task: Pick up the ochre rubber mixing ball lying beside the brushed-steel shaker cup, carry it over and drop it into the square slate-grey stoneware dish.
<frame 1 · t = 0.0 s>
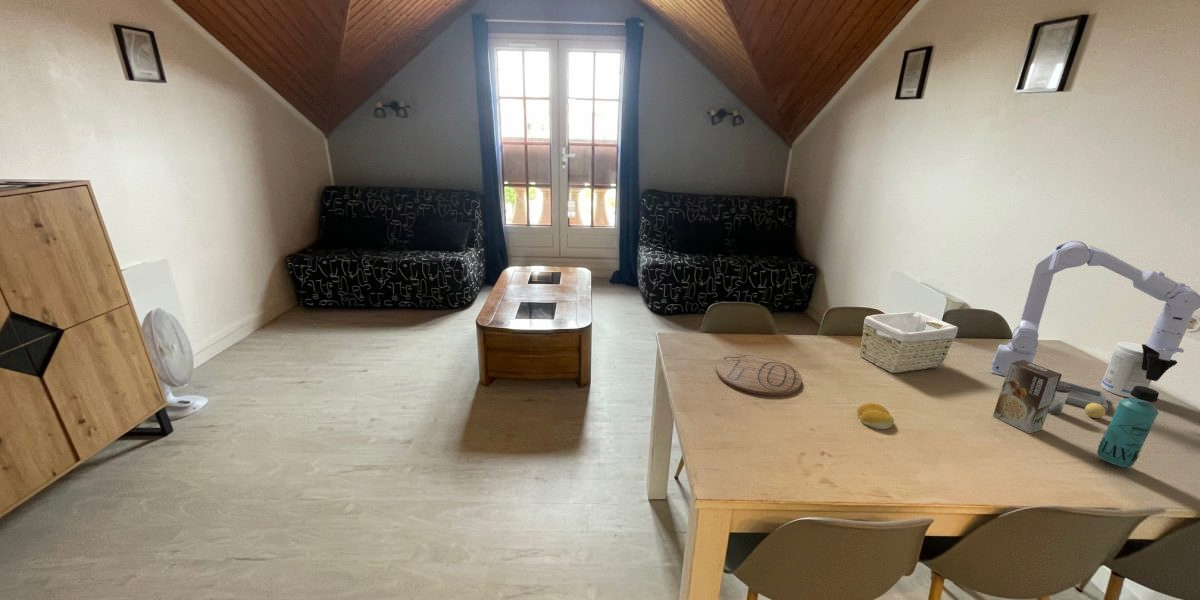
hand: (1148, 375, 140), 10 cm above the table, tool pointing down, fingers open, 7 cm apart
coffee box: (1016, 423, 133), on the table
supplement tub: (1120, 392, 152), on the table, touching gripper
storage basket: (900, 362, 166), on the table
dish: (1075, 398, 147), on the table
bread roll: (873, 421, 132), on the table
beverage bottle: (1112, 465, 117), on the table
shaker cup: (1049, 410, 140), on the table
trivet: (757, 377, 153), on the table
ball: (1095, 410, 137), point 2 cm above the table
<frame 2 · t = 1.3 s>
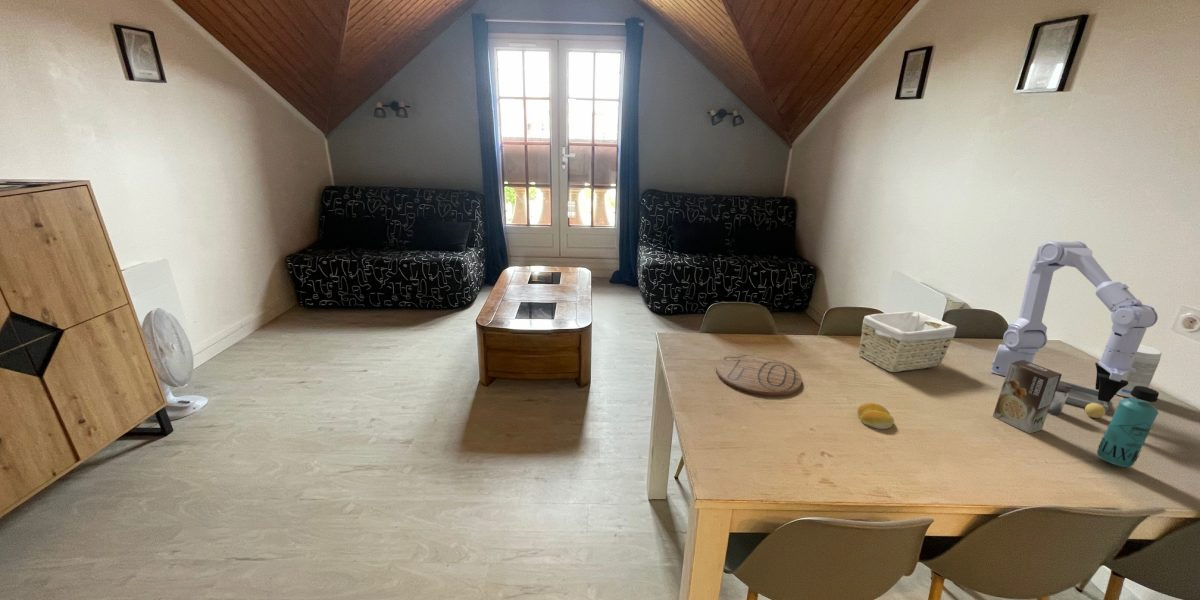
hand: (1101, 395, 135), 7 cm above the table, tool pointing down, fingers open, 7 cm apart
supplement tub: (1120, 392, 152), on the table
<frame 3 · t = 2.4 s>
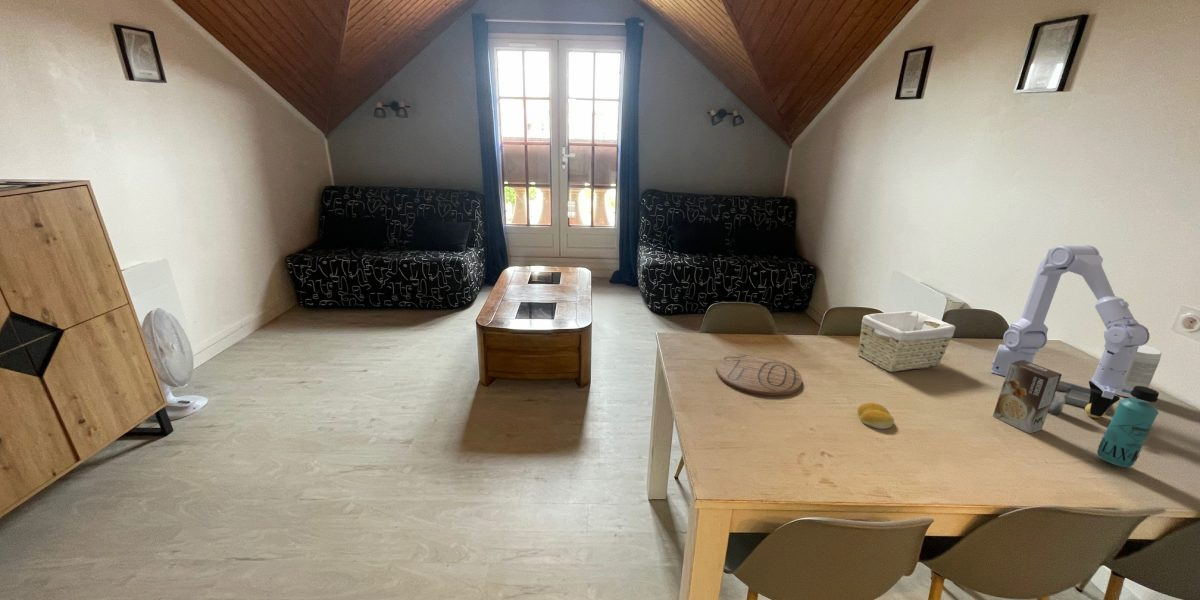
hand: (1094, 411, 137), 2 cm above the table, tool pointing down, fingers closed on ball, 4 cm apart
ball: (1095, 410, 137), point 2 cm above the table, touching gripper
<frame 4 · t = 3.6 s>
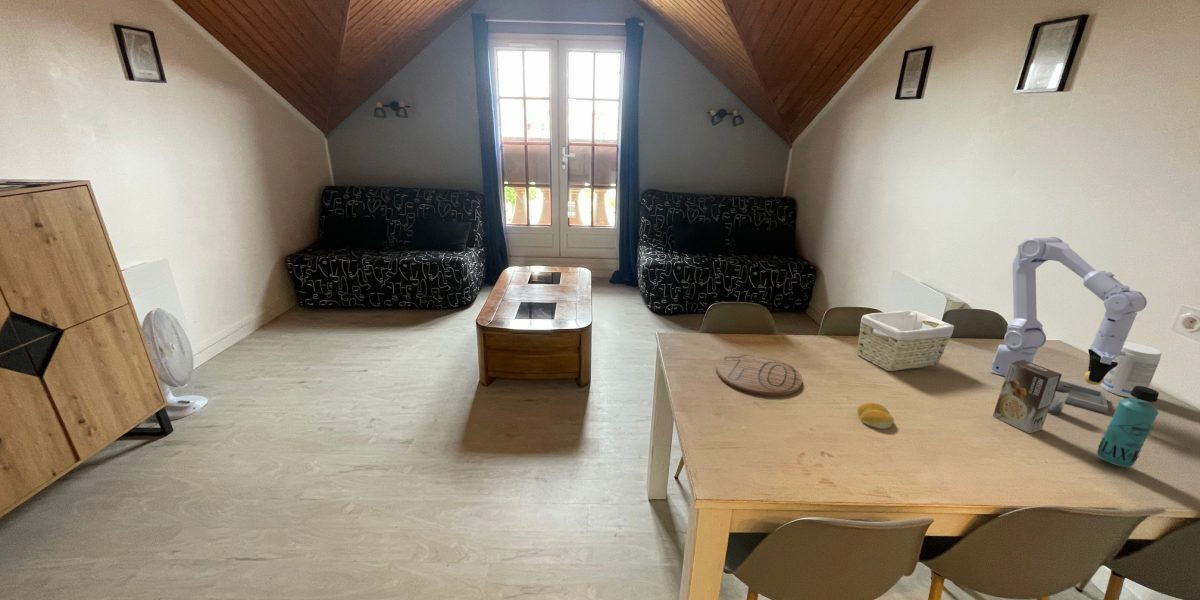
hand: (1093, 378, 140), 9 cm above the table, tool pointing down, fingers closed on ball, 4 cm apart
ball: (1094, 377, 140), point 9 cm above the table, touching gripper
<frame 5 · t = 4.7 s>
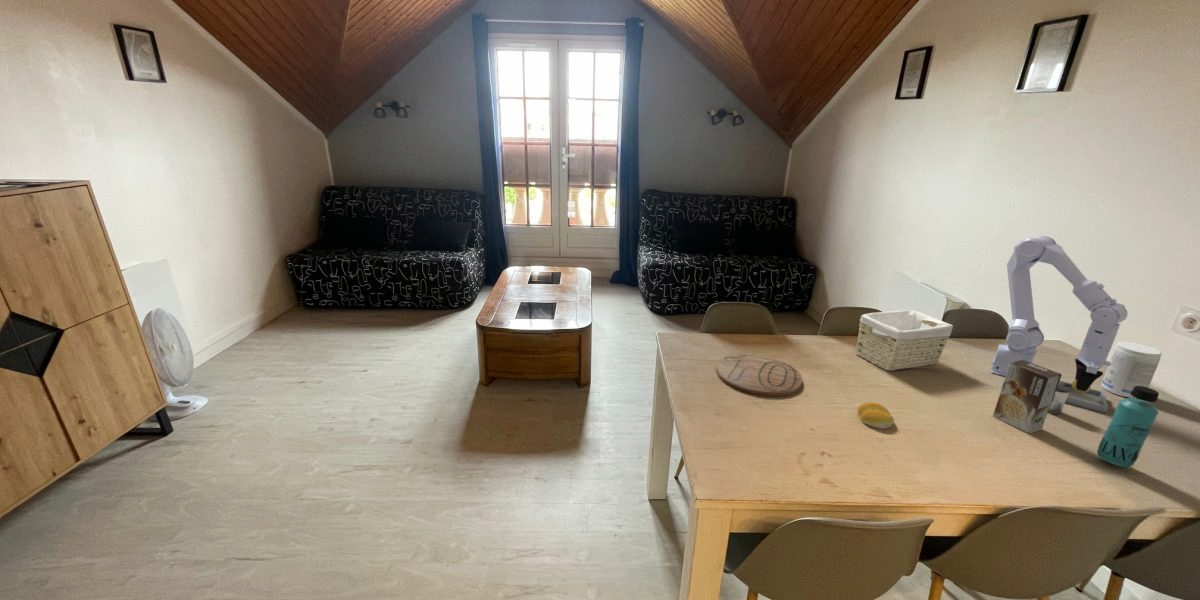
hand: (1080, 387, 146), 4 cm above the table, tool pointing down, fingers closed on ball, 4 cm apart
ball: (1081, 386, 146), point 4 cm above the table, touching gripper
when the fingers open (3 cm above the table, at t = 5.1 s): ball drops 1 cm, resting on dish.
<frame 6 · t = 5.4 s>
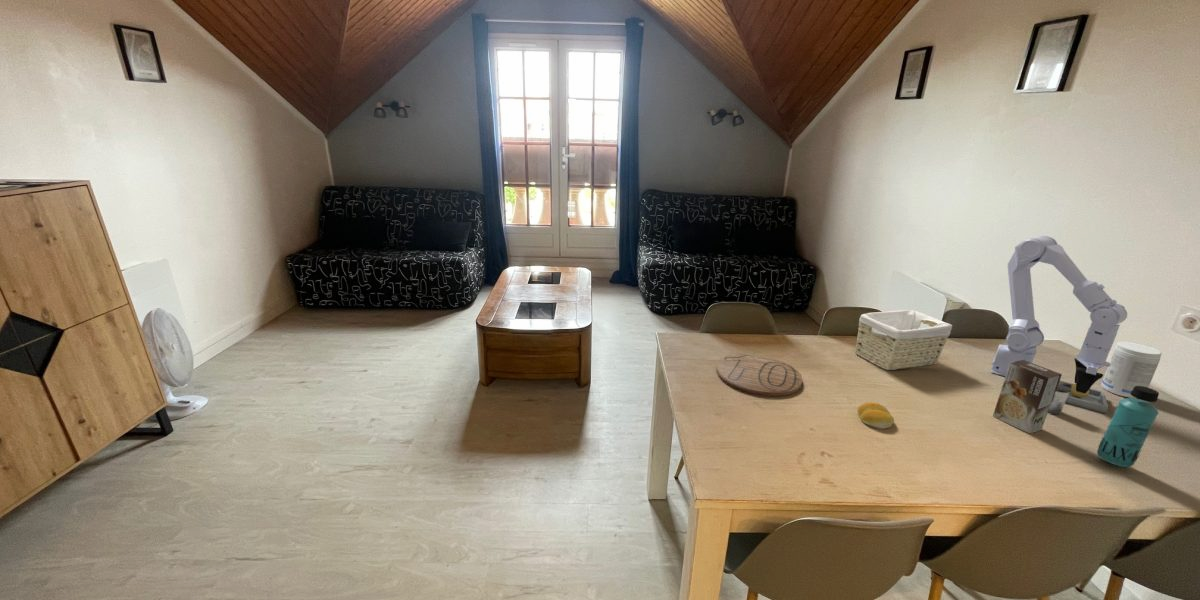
hand: (1079, 387, 146), 3 cm above the table, tool pointing down, fingers open, 6 cm apart
ball: (1079, 390, 146), point 3 cm above the table, tilted 6°, touching dish
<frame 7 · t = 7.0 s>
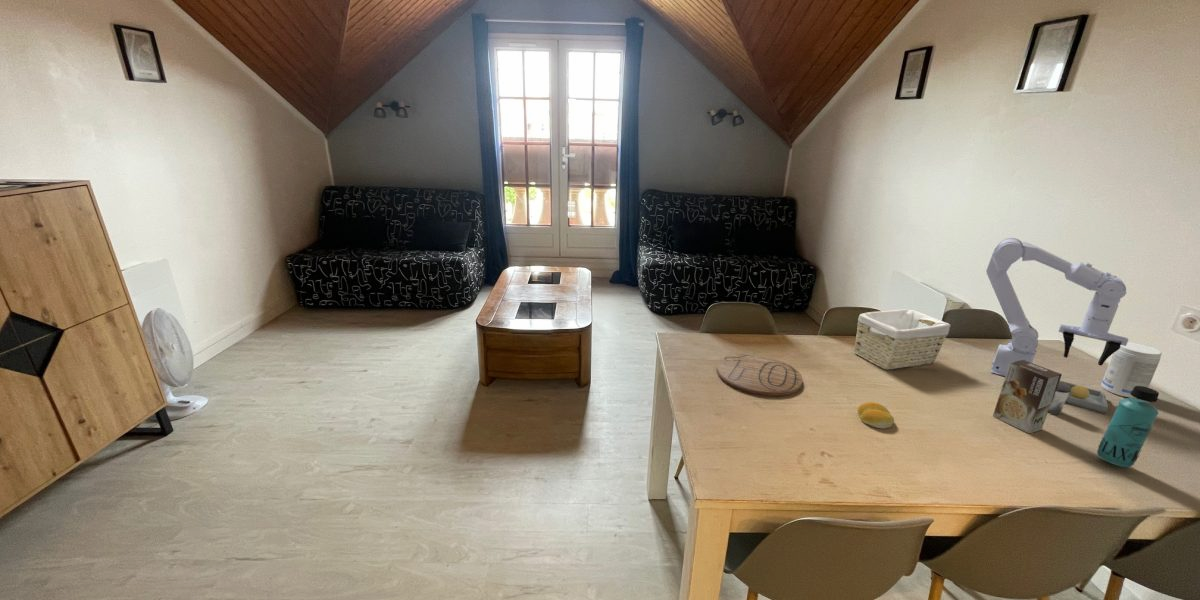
hand: (1082, 360, 149), 10 cm above the table, tool pointing down, fingers open, 7 cm apart
ball: (1079, 392, 145), point 3 cm above the table, tilted 47°, touching dish
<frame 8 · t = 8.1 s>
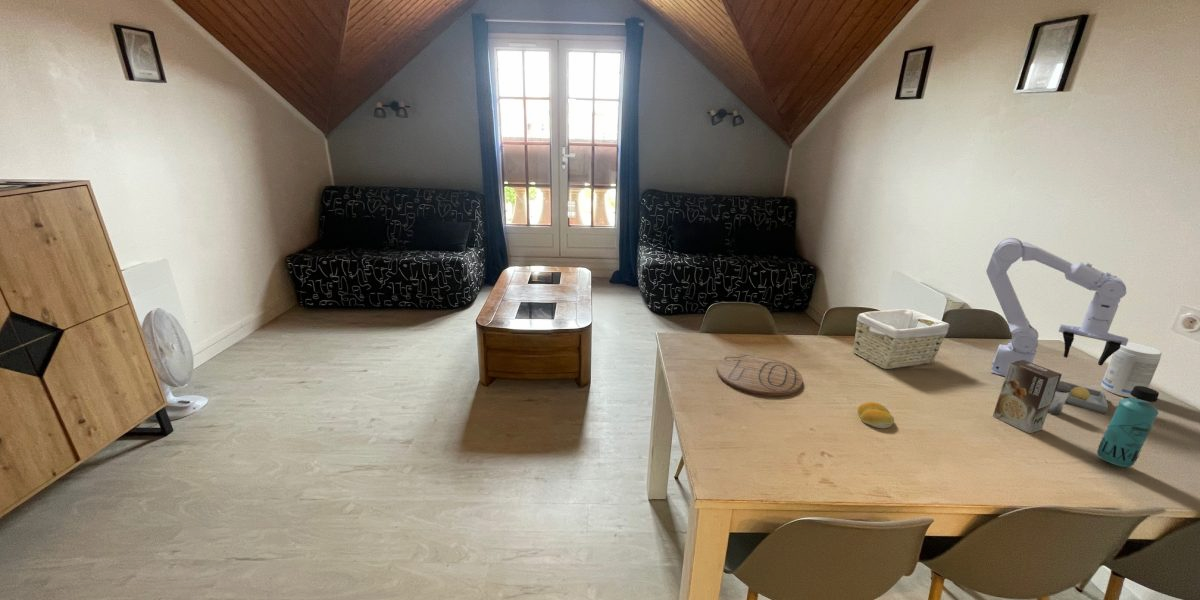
hand: (1082, 360, 149), 10 cm above the table, tool pointing down, fingers open, 7 cm apart
ball: (1080, 393, 144), point 3 cm above the table, tilted 75°, touching dish
at the end: ball inside the target area on the dish (2.8 cm from its centre), point 2.6 cm above the dish's base; the gripper is holding nothing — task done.
